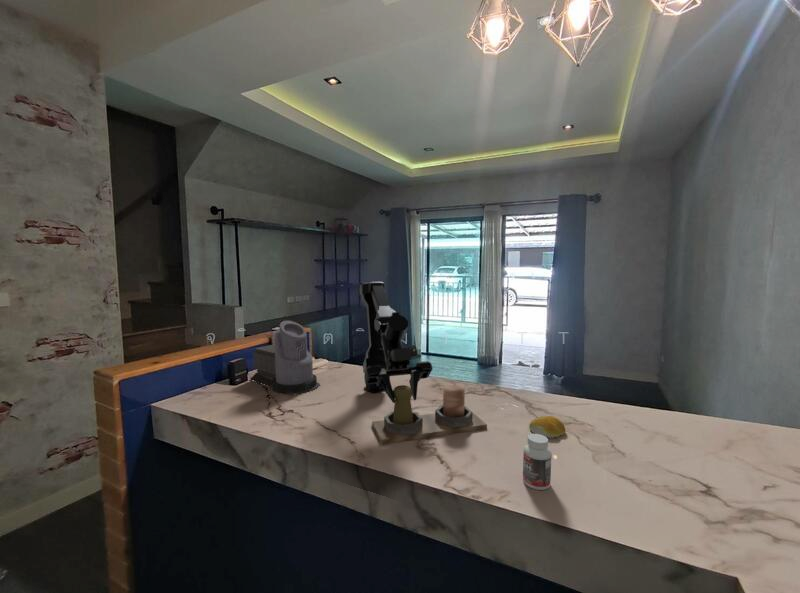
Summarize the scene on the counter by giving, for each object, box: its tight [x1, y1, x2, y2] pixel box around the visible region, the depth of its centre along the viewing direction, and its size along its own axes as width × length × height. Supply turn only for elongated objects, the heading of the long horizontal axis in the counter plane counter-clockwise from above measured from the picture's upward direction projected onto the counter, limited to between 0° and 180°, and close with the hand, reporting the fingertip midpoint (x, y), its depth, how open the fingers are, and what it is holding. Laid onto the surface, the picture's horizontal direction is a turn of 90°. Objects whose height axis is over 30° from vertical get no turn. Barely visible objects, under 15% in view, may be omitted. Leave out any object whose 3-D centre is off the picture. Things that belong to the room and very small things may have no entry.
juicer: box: [250, 320, 321, 396], centre depth 136 cm, size 30×16×24 cm, turn 55°
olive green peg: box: [393, 384, 414, 425], centre depth 98 cm, size 6×6×11 cm
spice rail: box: [371, 384, 488, 445], centre depth 100 cm, size 30×11×10 cm, turn 107°
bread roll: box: [528, 415, 566, 439], centre depth 98 cm, size 8×9×4 cm
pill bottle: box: [522, 433, 552, 491], centre depth 74 cm, size 5×5×10 cm
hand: (404, 400), depth 96 cm, fingers open, 6 cm apart
